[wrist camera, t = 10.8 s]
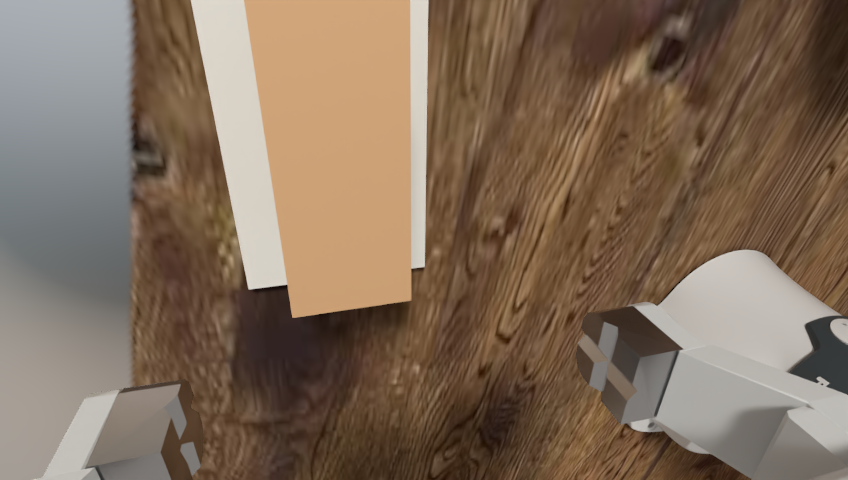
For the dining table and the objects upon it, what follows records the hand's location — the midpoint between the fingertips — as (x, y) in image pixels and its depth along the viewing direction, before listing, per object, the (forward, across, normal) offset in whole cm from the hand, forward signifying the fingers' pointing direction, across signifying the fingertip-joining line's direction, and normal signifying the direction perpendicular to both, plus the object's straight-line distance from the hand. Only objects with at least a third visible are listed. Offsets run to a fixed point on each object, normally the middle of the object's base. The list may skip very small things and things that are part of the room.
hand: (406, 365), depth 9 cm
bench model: (+20, 0, 0) cm, 20 cm away
